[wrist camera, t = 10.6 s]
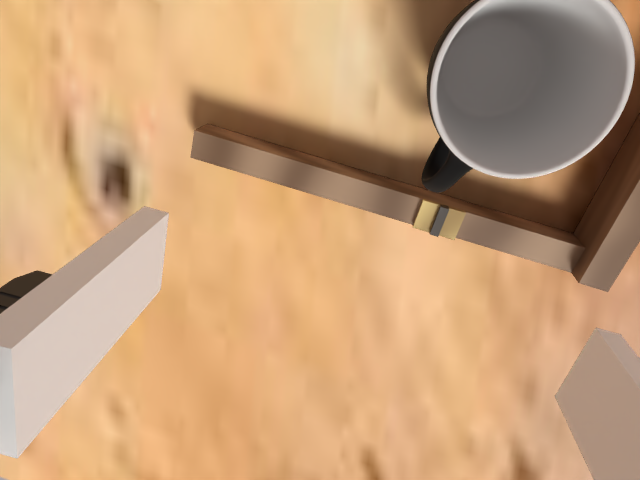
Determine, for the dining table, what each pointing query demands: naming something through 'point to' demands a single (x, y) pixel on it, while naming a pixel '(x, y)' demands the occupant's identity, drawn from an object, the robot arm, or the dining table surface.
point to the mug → (525, 87)
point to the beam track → (456, 204)
